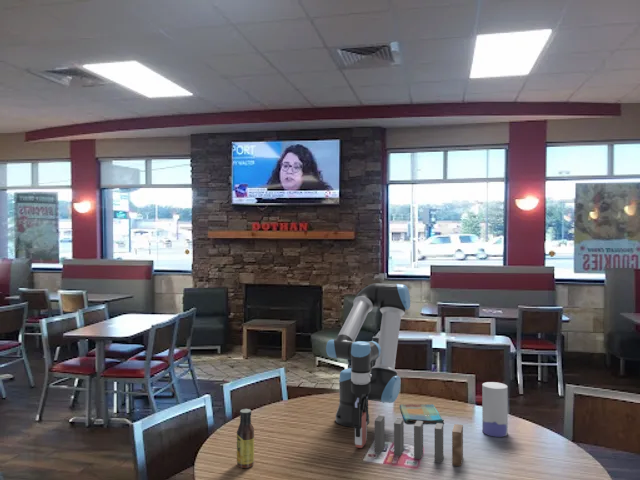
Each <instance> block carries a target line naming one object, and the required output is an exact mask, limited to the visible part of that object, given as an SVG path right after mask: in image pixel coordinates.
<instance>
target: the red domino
mask: <svg viewBox="0 0 640 480" xmlns="http://www.w3.org/2000/svg"><path fill="white" fill-rule="evenodd" d="M361 428H362V445H356V444H355V448H359V449H362V448H363V447H364V446H365V445H366V443H367V439H366V412H362V424H361Z"/></svg>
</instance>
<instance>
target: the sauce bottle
mask: <svg viewBox="0 0 640 480" xmlns="http://www.w3.org/2000/svg"><path fill="white" fill-rule="evenodd" d="M251 416H252V410H251V409H250V408H243V409H240V411H239V417H240V419H239V420H240V421H239V424H238V425H239V426H238V428H237V430H236V464H237V467H239V468H240V469H248V468H251V467H253V466H254V463H255V429H254V428H255V427H254V426H253V424H252V419H251V418H252V417H251Z"/></svg>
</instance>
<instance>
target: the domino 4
mask: <svg viewBox="0 0 640 480" xmlns="http://www.w3.org/2000/svg"><path fill="white" fill-rule="evenodd" d="M443 458H444V424H442V423H437V424H435V426H434V462H439V463H442V462H443Z"/></svg>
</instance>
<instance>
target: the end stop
mask: <svg viewBox="0 0 640 480" xmlns="http://www.w3.org/2000/svg"><path fill="white" fill-rule="evenodd" d="M451 431H452V433H451V434H452V435H451V442H452V443H451V447H452V448H451V452H452V455H451V461H452V462H451V463H452V464H451V465H452V466H456V467H462V464H463V458H464V424H456V423H454V425H453V427H452V430H451Z"/></svg>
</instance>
